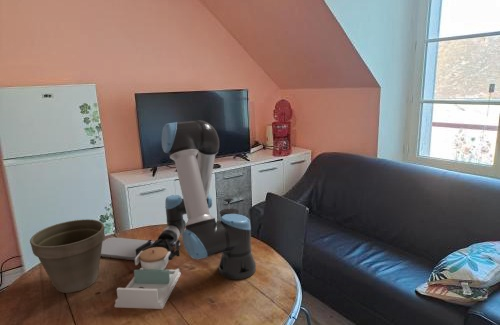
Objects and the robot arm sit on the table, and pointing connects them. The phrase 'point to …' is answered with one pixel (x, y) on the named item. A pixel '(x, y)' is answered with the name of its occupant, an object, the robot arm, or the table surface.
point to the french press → (228, 211)
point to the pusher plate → (152, 276)
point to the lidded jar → (153, 258)
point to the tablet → (121, 248)
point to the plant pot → (70, 253)
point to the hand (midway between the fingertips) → (150, 262)
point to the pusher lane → (146, 293)
